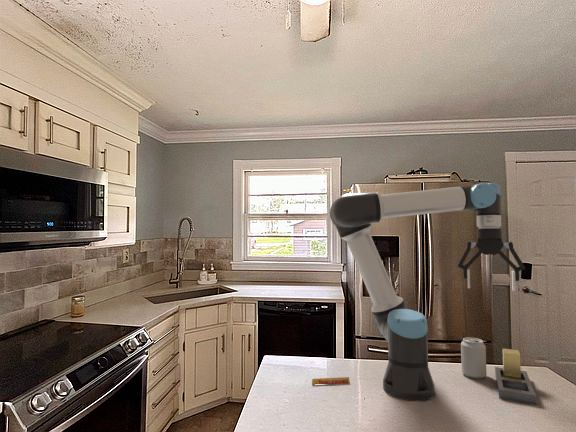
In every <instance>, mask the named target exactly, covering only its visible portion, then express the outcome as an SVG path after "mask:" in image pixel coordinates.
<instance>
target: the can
mask: <svg viewBox="0 0 576 432" xmlns="http://www.w3.org/2000/svg"><path fill="white" fill-rule="evenodd" d="M486 349H487V348H486V345H485V343H484V341H483V340H482V339H480V338H478V337H464V338H462V341H461V343H460V353H461V354H460V357H461V359H460V361H461V373H463V375H465V377H468V378H471V379H479V380H480V379H484V378H485V377H486V376H487V350H486Z"/></svg>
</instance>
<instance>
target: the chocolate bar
mask: <svg viewBox="0 0 576 432" xmlns="http://www.w3.org/2000/svg"><path fill="white" fill-rule="evenodd" d="M311 380H312V381H311V384H313V385H315V384H338V385H337V386H339V384H340V386H342V385H351V382H350V376H345V377H344V376H343V377H322V378H320V377H319V378H312V379H311ZM313 385H312V386H313Z"/></svg>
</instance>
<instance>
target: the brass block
mask: <svg viewBox="0 0 576 432" xmlns="http://www.w3.org/2000/svg"><path fill="white" fill-rule="evenodd" d="M521 364H522V363H521V354H520V351H519V349H511V348H502V368H503V377H506V378H513V379H520V380H521V371H522V369H521Z"/></svg>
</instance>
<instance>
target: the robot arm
mask: <svg viewBox="0 0 576 432" xmlns="http://www.w3.org/2000/svg"><path fill="white" fill-rule="evenodd" d="M501 197H502V195H501V187H500V185H499V184H498V183H496V182H495V183H494V182H487V183H486V182H482V183H475V184H473V185H472V184H471V185H462V186H452V187H443V188H434V189H424V190H416V191H415V190H414V191H404V192H396V193H394V192H393V193H388V194H387V193H386V194H385V193H384V194H380V193H379V192H377V191H376V192H375V191H374V192H373V191H372V192H349V193H344V194H342V195H341V196H339V197H338V198H337V199H336V200H334V201H333V203H332V205H331V207H330V210H329V217H330V220H331V222H332V223H333V225H334V226H335V228H336V231H337V232H338V235H339V237H340V239H341V240H344V241H345V242H346V244H347V245H348V247H349V249H350V252H351V255H352V256H353V260H354V262H355V264H356V266H357V269H358V272H359V274H360V276H361V278H362V281H363V283H364V285H365V288H366V290H367V293H368V294H369V297H370V299H371V302H372V307H371V313H372V316H373V318H374V319H375V321H374V322H375V326H376V328H377V331H378V332H379V333H380V335H381V336H382V337H383V338H384V339H385V340H386V341H387V344H388V345H387V347H388V348H387V353H388V354H387V355H388V363H387V366H386V369H385V373H384V376H383V378H382V379H383V380H382V388H383V390H384V391H385V392H386V393H387V394H388V395H390V396H392V397H394V398H398V399H400V400H401V399H402V400H407V401H413V402H414V401H416V402H417V401H427V400H431V399H433V398H434V397H435V396H436V395H435V394H436V389H435V388H436V386H435V382H434V379H433V376H432V374H431V371H430V368H429V347H428V344H429V340H428V333H429V332H428V331H429V327H428V326H429V325H428V320H427V317H426V316H425V315H424V314H423V313H422V312H419V311H417V310H414V309H409V308H407V305H406V303H405V300H404V298H403V297H401V296H398V295H397V293H396V290H395V288H394V286H393V284H392V281H391V279H390V277H389V275H388V272H387V270H386V268H385V265H384V263H383V260H382V258H381V256H380V253H379V250H378V249H377V246H376V245H375V242H374V240H373V237H372V234H371V233H370V231H371V228H372V224H373V223H381V221H383V220H384V219H391V218H399V217H408V216H411V217H412V216H418V215H419V216H420V215H430V214H436V213H446V212H447V213H448V212H452V213H453V212H476V216H475V217H476V227H477V229H476V242H472V241H468V242H467V244H466V245H467V246H466V249H465V251H464V253H463V254H462V257H461V259H460V260H459V263H458V264H457V267H458V268H459V269H463V279H467V289H468V290H469V289H471V271H470V266H471V265H472V264H473V263H474V262H475V261H476V260H477V259H478V258H479V257H480V256H481V255H482V254H483V255H486V256H487V255H488V256H489V255H493V256H496V255H497V254H498V255H499V256H500V257H501V258H502V259H503V260H504V261H505V262H506V263H507V265H509V266H510V267H511V268H512V270H511V290H512V292H517V287H516V285H517V284H516V282H519V281H520V271H525V270H526V266H525V264H524V263H523V261H522V260H521V258H520V257H519V255H518V253H517V252H516V250H515V248H514V244H513V242H512V241H509V242H503V238H502V237H503V235H502V234H503V233H502V232H503V231H502V229H501V228H500V227H502V213H501V211H502V207H501ZM474 247H476V248H477V249H478V250H477V252H476V253H475V254H474V255H473V256H472V257H471V258H470V259H469V260H468V261H467V262H466V264H464V263H465V260H466V259H467V258H468V255H469V253H470V252H471V249H473V248H474ZM504 247H505V248H506V249H507V250H508V249H509V252H510V253H511V255H512V256H513V259H514V260H515V261H516V263H517V264H518V266H517V265H515V263H513V262H512V261H511V260H510V259H509V257H508V256H506V254H505V253H503V252H502V249H503V248H504Z"/></svg>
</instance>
